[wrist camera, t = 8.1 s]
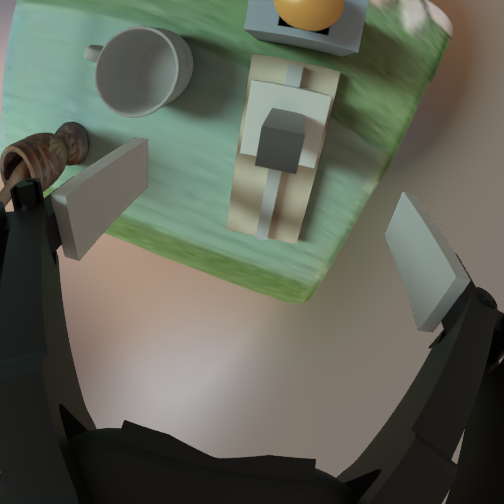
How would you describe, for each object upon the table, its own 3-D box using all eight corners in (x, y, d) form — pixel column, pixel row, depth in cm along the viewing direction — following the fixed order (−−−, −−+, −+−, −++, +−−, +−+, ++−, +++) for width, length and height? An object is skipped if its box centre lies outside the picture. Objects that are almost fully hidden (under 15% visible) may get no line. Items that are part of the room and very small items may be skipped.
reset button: (283, -11, 19) (279, -32, 14) (336, 0, 19) (348, -18, 13) (274, 33, 22) (268, 22, 17) (327, 44, 22) (337, 36, 17)
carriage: (256, 79, 29) (230, 85, 17) (327, 93, 29) (349, 110, 17) (246, 142, 34) (217, 190, 22) (312, 156, 33) (320, 211, 22)
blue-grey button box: (265, -3, 24) (254, -27, 16) (352, 15, 24) (373, -2, 16) (257, 39, 28) (243, 29, 20) (344, 57, 28) (362, 53, 20)
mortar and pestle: (83, 190, 43) (4, 260, 27) (49, 171, 42) (-30, 231, 25) (96, 128, 36) (-3, 185, 20) (58, 112, 35) (-39, 159, 19)
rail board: (254, 54, 29) (250, 52, 26) (337, 71, 29) (342, 71, 26) (229, 222, 43) (224, 235, 40) (296, 236, 43) (296, 250, 40)
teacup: (219, 59, 30) (199, 57, 23) (168, 122, 35) (141, 137, 29) (140, 8, 26) (107, 0, 19) (99, 70, 31) (63, 77, 25)
